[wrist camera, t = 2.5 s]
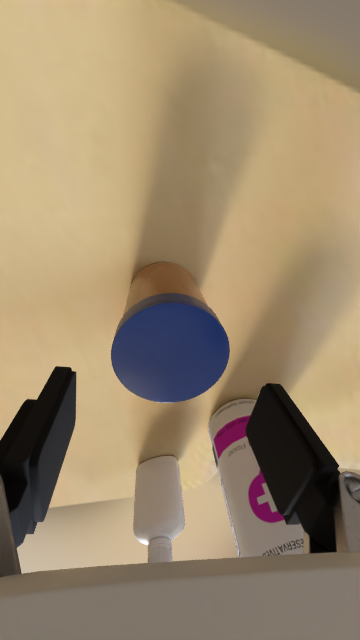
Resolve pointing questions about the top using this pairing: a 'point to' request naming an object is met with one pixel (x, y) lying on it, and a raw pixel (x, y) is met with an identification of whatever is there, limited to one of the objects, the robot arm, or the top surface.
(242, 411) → the supplement can
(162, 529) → the eye dropper bottle
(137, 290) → the jar
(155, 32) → the top surface
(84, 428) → the top surface
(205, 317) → the lid
